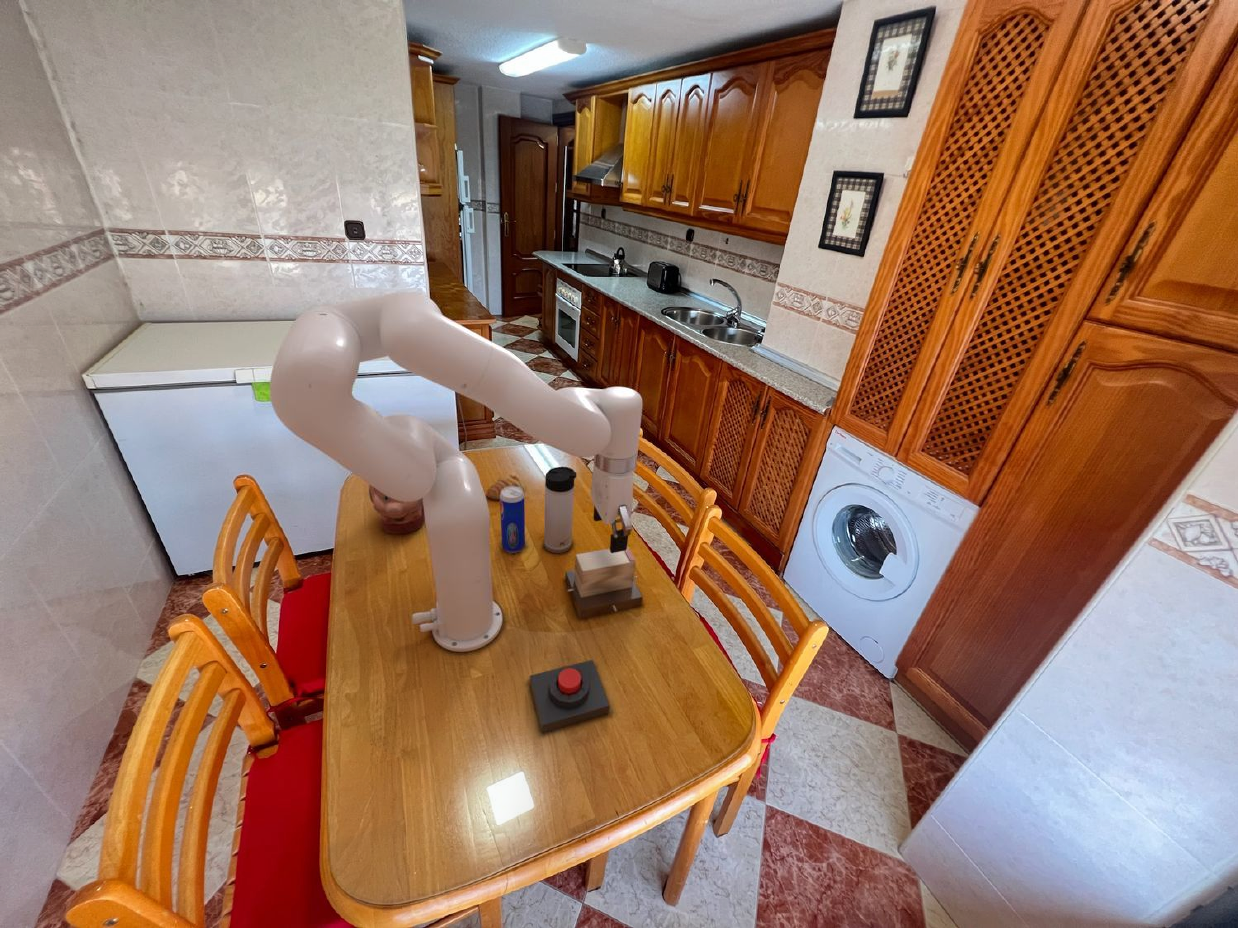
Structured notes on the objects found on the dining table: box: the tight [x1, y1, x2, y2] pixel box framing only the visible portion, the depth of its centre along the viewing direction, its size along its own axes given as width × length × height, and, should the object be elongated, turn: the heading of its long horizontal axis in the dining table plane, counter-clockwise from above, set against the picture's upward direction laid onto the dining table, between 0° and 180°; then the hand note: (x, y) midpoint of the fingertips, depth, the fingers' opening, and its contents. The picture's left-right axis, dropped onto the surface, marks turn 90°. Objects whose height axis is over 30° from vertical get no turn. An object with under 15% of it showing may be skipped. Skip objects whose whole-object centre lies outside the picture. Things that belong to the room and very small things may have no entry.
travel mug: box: [543, 466, 577, 554], centre depth 109 cm, size 6×7×20 cm
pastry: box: [486, 474, 525, 501], centre depth 129 cm, size 9×7×4 cm
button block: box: [529, 659, 611, 734], centre depth 81 cm, size 11×9×4 cm
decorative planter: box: [368, 484, 425, 534], centre depth 114 cm, size 20×12×14 cm, turn 23°
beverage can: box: [499, 486, 526, 554], centre depth 109 cm, size 5×5×15 cm
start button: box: [558, 668, 581, 695], centre depth 79 cm, size 4×4×2 cm
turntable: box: [564, 569, 643, 620], centre depth 102 cm, size 15×15×3 cm
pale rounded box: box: [574, 545, 637, 598], centre depth 100 cm, size 11×5×7 cm, turn 110°
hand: (609, 534), depth 95 cm, fingers open, 9 cm apart
